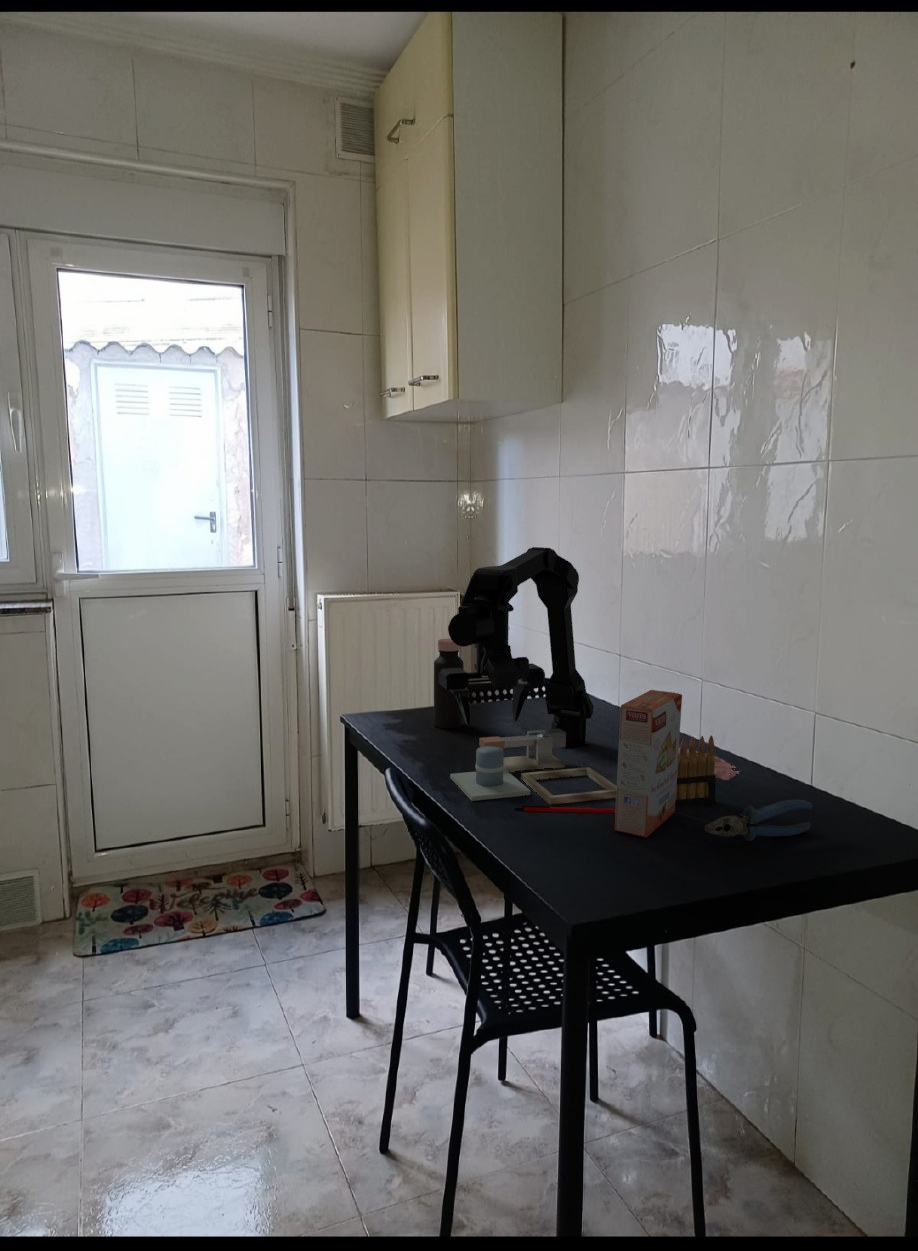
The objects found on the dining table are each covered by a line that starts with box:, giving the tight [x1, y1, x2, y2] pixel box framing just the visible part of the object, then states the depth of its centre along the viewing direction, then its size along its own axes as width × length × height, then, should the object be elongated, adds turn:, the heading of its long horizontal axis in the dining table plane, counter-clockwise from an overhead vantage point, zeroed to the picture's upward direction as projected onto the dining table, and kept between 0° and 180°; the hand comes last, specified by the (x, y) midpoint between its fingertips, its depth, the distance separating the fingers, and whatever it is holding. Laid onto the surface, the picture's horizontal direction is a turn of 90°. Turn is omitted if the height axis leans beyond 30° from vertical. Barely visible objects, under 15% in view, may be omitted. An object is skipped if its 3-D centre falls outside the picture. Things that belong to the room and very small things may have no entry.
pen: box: [514, 804, 616, 814], centre depth 149 cm, size 1×19×1 cm, turn 87°
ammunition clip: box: [675, 735, 717, 808], centre depth 152 cm, size 11×2×12 cm, turn 106°
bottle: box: [433, 638, 465, 730], centre depth 202 cm, size 7×7×20 cm
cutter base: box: [504, 730, 566, 773], centre depth 174 cm, size 12×7×6 cm, turn 107°
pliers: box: [704, 799, 814, 842], centre depth 137 cm, size 20×2×6 cm, turn 111°
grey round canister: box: [475, 746, 505, 787], centre depth 161 cm, size 5×5×6 cm
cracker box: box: [614, 689, 683, 839], centre depth 143 cm, size 14×6×21 cm, turn 148°
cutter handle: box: [478, 728, 567, 750], centre depth 173 cm, size 17×3×3 cm, turn 107°
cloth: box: [678, 747, 741, 781], centre depth 177 cm, size 20×22×2 cm
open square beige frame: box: [520, 766, 617, 806], centre depth 161 cm, size 14×14×1 cm
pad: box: [449, 769, 531, 802], centre depth 161 cm, size 11×13×1 cm
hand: (491, 722), depth 161 cm, fingers open, 9 cm apart
